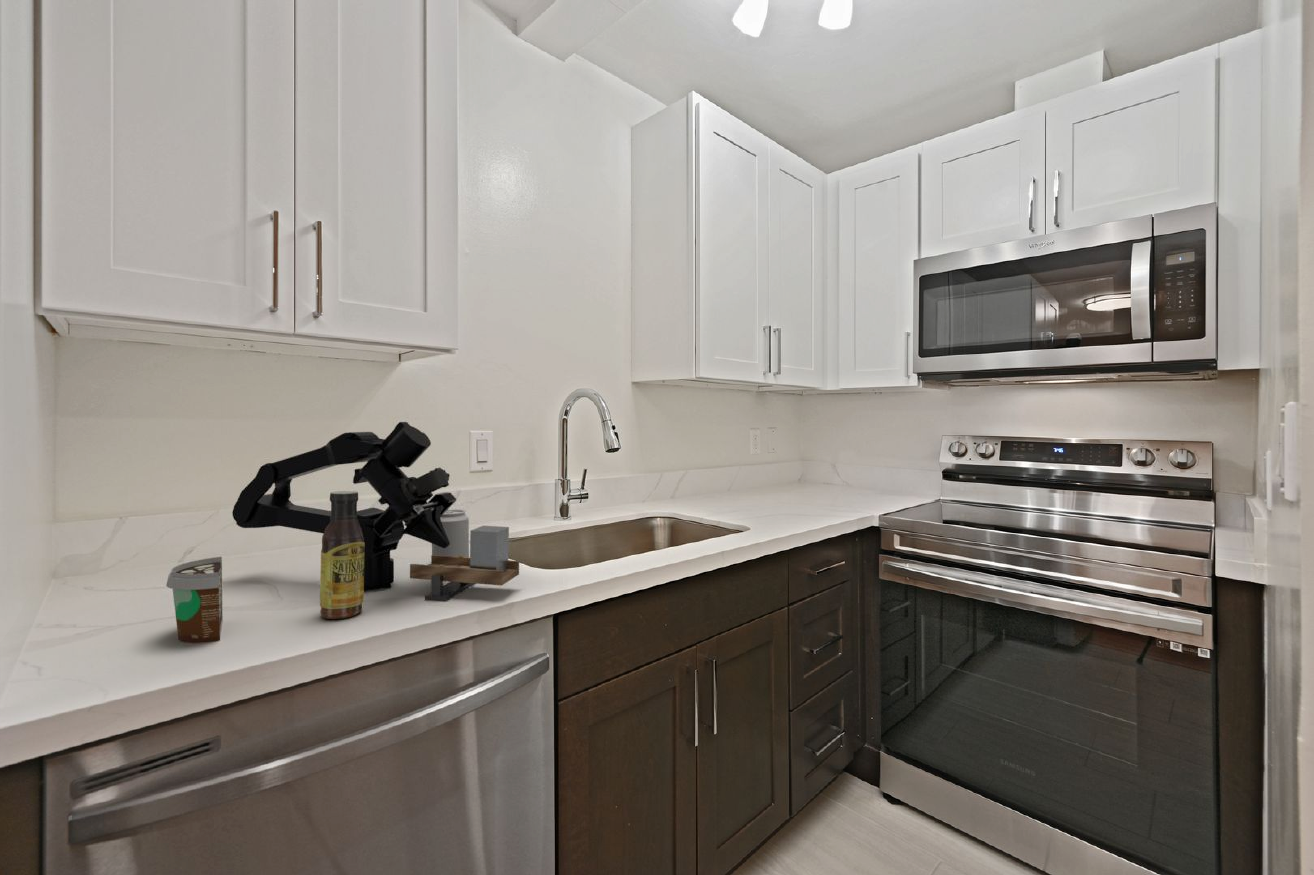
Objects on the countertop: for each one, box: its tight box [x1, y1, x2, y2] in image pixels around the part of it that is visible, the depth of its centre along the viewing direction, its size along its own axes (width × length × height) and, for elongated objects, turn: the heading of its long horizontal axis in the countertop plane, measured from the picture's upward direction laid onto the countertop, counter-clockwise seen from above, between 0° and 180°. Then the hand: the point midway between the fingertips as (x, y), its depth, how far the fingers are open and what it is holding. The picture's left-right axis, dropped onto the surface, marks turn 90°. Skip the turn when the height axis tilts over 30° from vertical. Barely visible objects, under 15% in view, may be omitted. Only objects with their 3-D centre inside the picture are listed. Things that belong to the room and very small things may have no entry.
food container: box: [165, 556, 224, 644], centre depth 84 cm, size 12×6×10 cm, turn 35°
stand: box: [424, 574, 476, 602], centre depth 106 cm, size 4×11×4 cm, turn 170°
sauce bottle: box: [319, 490, 365, 620], centre depth 93 cm, size 6×6×20 cm
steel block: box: [469, 525, 510, 573], centre depth 105 cm, size 5×5×8 cm
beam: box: [409, 554, 520, 586], centre depth 105 cm, size 18×8×3 cm, turn 80°
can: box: [431, 508, 470, 558], centre depth 124 cm, size 8×8×12 cm
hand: (447, 546), depth 106 cm, fingers closed
